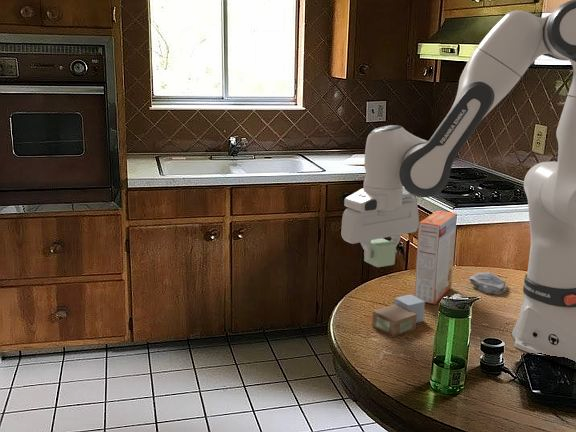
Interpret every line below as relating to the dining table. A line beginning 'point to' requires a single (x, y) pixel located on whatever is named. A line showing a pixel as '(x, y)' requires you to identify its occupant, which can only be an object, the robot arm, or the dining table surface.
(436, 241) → the cracker box
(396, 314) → the walnut slab
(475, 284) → the fossil
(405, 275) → the dining table surface
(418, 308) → the slate blue block
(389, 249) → the sage green block
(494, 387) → the dining table surface
